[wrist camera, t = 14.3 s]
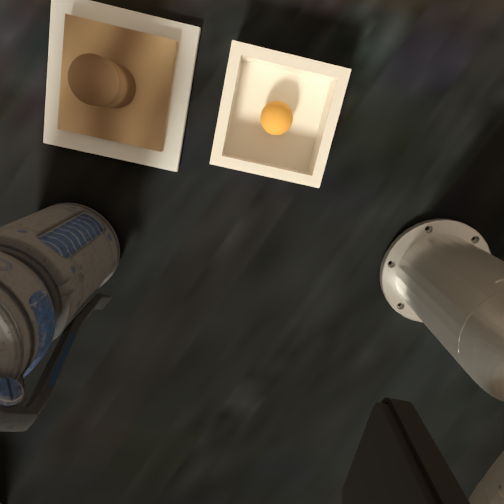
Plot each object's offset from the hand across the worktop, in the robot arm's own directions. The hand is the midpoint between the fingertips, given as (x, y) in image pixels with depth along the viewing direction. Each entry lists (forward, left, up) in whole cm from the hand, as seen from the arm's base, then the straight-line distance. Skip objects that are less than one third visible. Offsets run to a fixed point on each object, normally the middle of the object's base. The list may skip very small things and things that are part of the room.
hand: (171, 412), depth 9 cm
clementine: (-3, -7, -36) cm, 36 cm away
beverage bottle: (+15, +11, -36) cm, 41 cm away
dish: (-3, -7, -36) cm, 37 cm away
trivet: (+13, -7, -36) cm, 39 cm away
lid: (+13, -7, -36) cm, 38 cm away
